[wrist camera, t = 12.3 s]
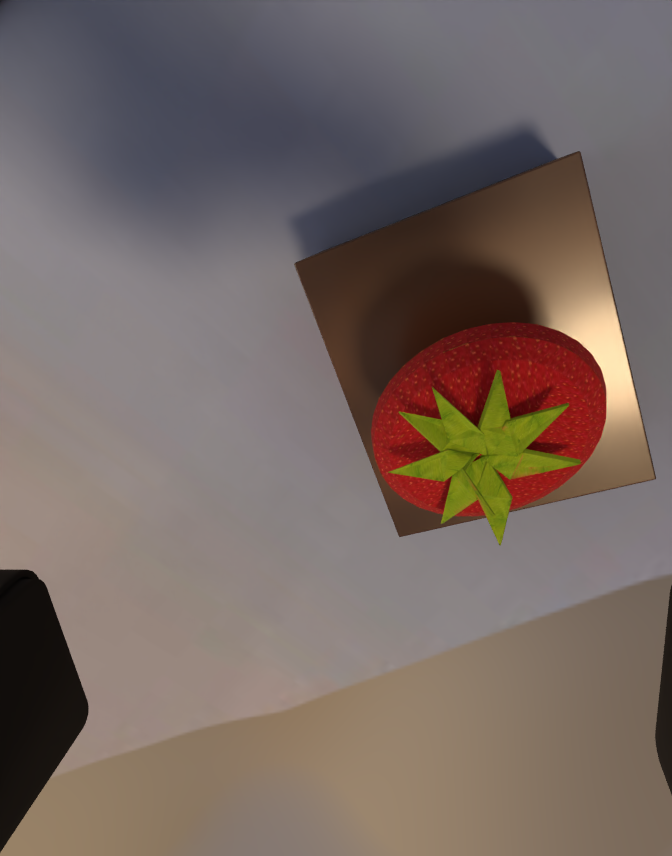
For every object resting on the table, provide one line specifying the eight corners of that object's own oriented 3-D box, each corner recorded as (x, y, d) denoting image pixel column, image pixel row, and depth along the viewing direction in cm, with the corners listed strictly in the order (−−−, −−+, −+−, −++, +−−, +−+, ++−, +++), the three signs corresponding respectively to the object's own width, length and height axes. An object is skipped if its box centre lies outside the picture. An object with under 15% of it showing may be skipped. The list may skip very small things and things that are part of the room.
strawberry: (599, 398, 23) (691, 532, 14) (425, 469, 26) (406, 621, 17) (539, 260, 22) (599, 310, 13) (361, 349, 24) (303, 445, 15)
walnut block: (320, 252, 28) (293, 263, 24) (558, 158, 25) (580, 150, 20) (407, 488, 32) (399, 537, 27) (625, 433, 28) (656, 479, 24)
